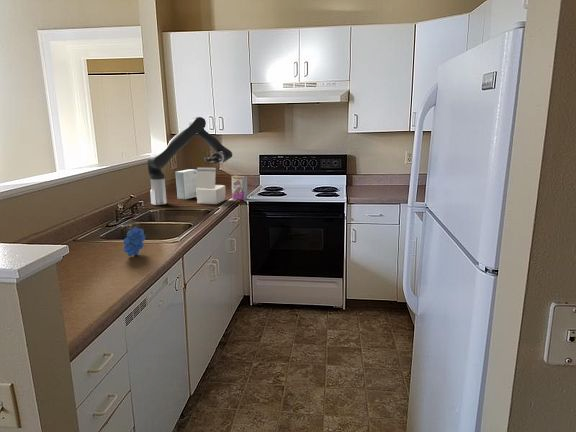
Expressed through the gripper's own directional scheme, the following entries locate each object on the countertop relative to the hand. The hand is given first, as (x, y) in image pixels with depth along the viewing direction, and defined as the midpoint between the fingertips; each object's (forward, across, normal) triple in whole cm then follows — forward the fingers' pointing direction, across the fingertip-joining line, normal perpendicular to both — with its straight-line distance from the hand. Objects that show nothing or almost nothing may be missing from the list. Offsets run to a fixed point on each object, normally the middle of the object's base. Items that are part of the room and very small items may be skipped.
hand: (207, 160), depth 283 cm
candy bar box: (-17, +16, +30) cm, 37 cm away
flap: (+6, 0, +19) cm, 19 cm away
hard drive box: (-15, -23, +29) cm, 40 cm away
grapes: (+114, +12, +28) cm, 118 cm away
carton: (-3, 0, +29) cm, 29 cm away
